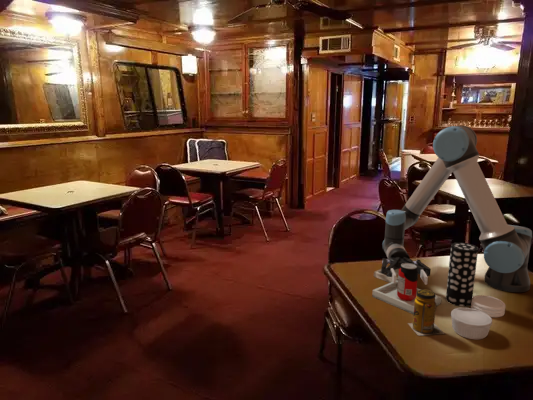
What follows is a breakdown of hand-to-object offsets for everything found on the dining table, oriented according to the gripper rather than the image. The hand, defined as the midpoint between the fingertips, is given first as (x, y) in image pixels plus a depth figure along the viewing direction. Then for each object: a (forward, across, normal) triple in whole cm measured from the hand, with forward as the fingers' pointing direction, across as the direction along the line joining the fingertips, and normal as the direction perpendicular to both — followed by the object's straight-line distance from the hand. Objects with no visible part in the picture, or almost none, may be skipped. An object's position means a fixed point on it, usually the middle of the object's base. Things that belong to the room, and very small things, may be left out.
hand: (410, 279), depth 138 cm
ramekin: (+15, -15, -10) cm, 23 cm away
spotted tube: (-6, -18, -10) cm, 21 cm away
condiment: (+15, -2, -10) cm, 18 cm away
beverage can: (-5, 0, -9) cm, 10 cm away
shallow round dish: (0, -26, -10) cm, 27 cm away
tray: (-4, 0, -10) cm, 10 cm away
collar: (-24, +1, -10) cm, 26 cm away
